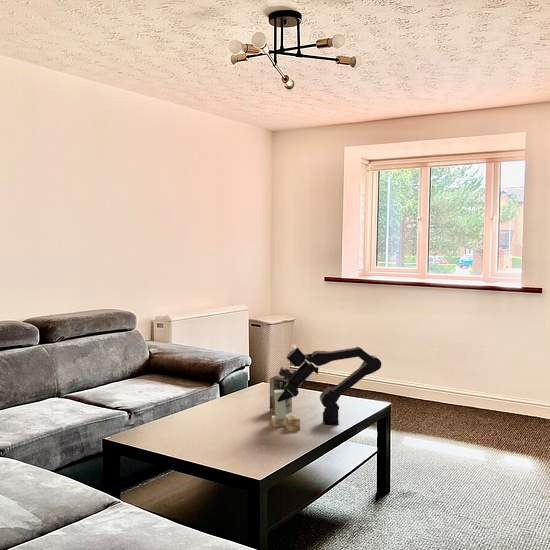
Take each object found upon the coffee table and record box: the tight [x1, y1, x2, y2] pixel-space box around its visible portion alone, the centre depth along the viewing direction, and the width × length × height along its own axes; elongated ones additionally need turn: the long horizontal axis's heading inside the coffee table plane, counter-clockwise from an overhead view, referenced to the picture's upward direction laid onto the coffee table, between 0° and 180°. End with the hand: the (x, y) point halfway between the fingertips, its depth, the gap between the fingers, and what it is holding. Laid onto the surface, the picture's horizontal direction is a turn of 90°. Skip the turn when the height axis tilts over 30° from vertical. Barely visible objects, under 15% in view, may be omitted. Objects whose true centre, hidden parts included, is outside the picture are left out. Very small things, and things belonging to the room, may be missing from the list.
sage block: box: [274, 390, 287, 419], centre depth 263 cm, size 4×4×12 cm
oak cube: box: [285, 415, 301, 431], centre depth 257 cm, size 5×5×5 cm
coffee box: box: [269, 375, 293, 414], centre depth 283 cm, size 9×6×16 cm
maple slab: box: [271, 414, 288, 427], centre depth 264 cm, size 7×7×3 cm
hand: (277, 398), depth 263 cm, fingers open, 9 cm apart
